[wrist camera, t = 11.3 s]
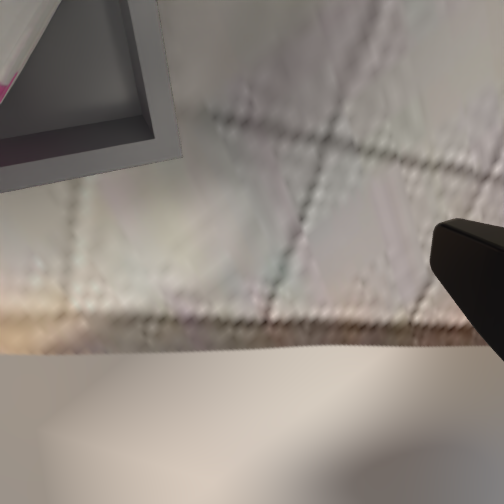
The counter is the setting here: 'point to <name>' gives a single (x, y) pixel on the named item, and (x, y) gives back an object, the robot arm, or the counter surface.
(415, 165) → the counter surface
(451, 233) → the robot arm
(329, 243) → the counter surface
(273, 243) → the counter surface
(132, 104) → the bin
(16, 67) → the supplement box
